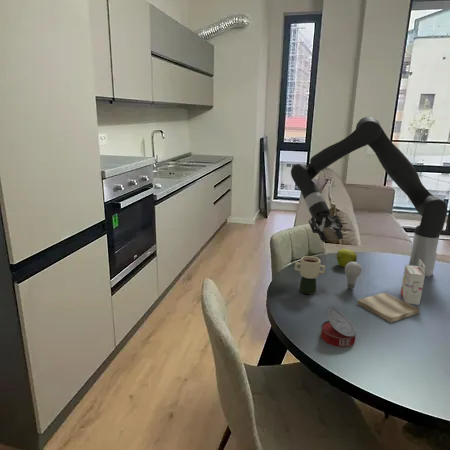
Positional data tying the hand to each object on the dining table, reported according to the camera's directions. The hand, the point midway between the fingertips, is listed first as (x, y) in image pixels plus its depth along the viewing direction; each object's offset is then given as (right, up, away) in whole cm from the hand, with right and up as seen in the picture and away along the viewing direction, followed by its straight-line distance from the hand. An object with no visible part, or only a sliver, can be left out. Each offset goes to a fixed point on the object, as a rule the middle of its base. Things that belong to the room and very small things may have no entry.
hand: (333, 239), depth 151 cm
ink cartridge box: (+24, -21, -12) cm, 35 cm away
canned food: (-10, -28, -38) cm, 48 cm away
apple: (+10, -13, +17) cm, 23 cm away
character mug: (-12, -19, -9) cm, 25 cm away
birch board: (+13, -23, -20) cm, 33 cm away
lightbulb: (+5, -19, -5) cm, 20 cm away
